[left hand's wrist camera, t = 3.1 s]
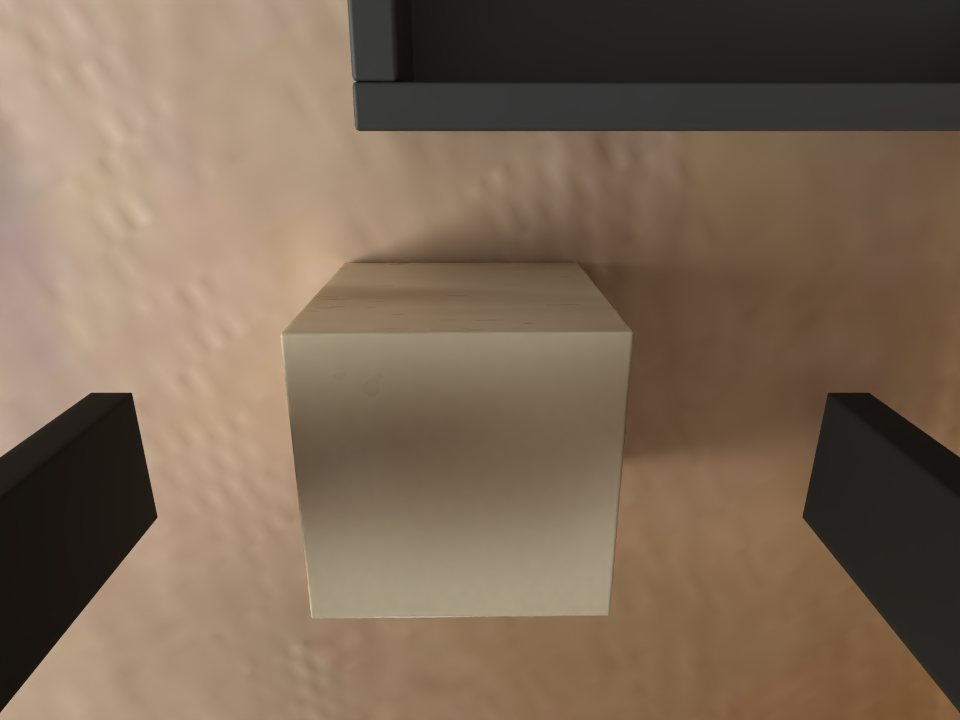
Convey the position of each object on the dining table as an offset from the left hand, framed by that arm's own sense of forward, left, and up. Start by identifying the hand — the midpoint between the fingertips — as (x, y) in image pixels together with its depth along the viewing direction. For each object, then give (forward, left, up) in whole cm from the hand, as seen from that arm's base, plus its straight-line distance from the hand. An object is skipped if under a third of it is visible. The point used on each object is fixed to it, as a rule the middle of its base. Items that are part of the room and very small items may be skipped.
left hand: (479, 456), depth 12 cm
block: (0, 0, -5) cm, 5 cm away
